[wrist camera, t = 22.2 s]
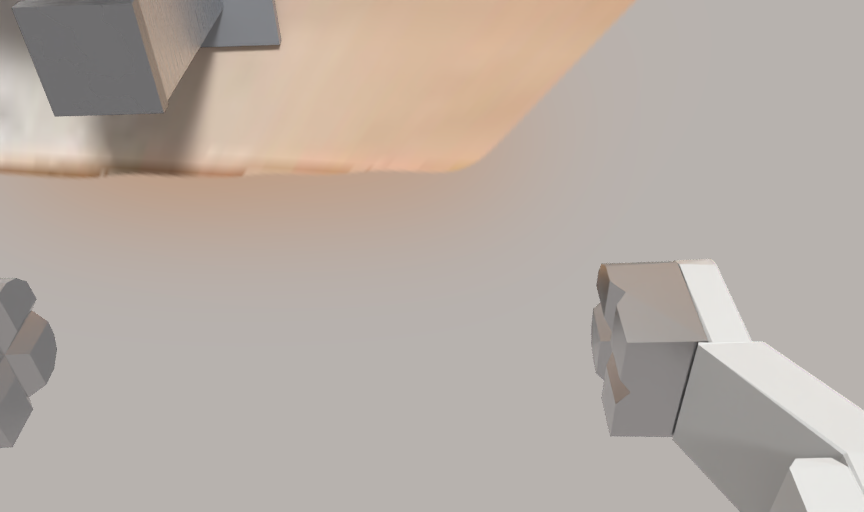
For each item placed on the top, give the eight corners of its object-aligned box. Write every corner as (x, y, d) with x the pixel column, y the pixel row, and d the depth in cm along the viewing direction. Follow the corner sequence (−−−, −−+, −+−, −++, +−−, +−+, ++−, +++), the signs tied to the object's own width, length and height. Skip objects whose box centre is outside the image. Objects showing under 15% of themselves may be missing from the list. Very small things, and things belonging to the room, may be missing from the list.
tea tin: (140, 11, 45) (54, 116, 35) (114, -79, 42) (11, 7, 32) (225, 8, 45) (163, 113, 35) (206, -83, 42) (132, 3, 32)
